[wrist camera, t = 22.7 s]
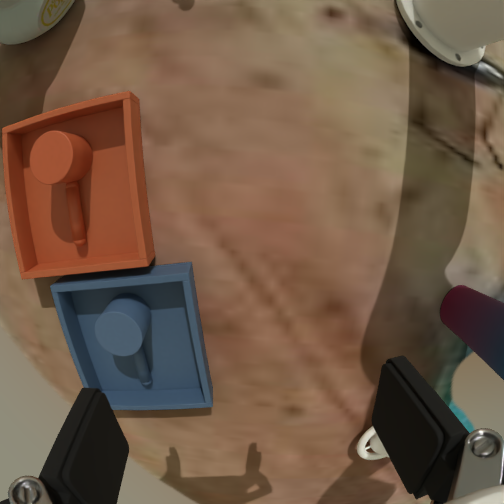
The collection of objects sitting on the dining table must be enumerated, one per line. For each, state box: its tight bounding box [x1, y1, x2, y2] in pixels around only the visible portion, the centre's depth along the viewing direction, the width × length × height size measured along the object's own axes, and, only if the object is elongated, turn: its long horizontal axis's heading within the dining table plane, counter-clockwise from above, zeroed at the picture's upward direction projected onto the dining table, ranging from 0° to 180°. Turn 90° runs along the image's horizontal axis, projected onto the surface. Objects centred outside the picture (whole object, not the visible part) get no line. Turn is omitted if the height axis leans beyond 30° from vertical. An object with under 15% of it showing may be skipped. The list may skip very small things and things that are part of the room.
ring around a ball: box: [357, 426, 389, 460], centre depth 32 cm, size 8×6×8 cm
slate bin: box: [50, 262, 213, 410], centre depth 26 cm, size 13×12×3 cm
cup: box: [440, 285, 504, 380], centre depth 24 cm, size 7×7×15 cm
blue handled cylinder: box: [95, 293, 152, 385], centre depth 25 cm, size 9×4×4 cm, turn 5°
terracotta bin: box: [2, 91, 155, 279], centre depth 22 cm, size 13×12×3 cm
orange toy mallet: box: [30, 131, 93, 247], centre depth 21 cm, size 9×4×4 cm, turn 5°
